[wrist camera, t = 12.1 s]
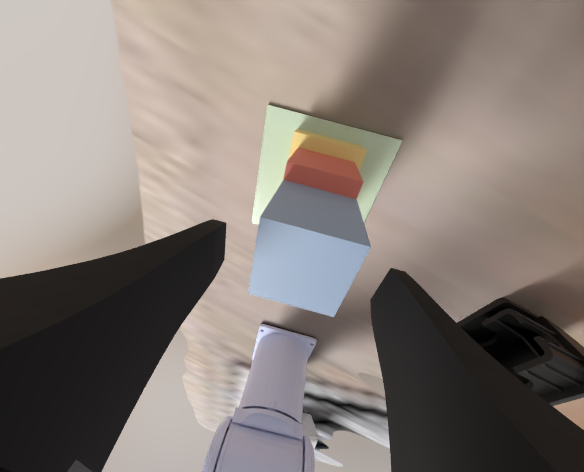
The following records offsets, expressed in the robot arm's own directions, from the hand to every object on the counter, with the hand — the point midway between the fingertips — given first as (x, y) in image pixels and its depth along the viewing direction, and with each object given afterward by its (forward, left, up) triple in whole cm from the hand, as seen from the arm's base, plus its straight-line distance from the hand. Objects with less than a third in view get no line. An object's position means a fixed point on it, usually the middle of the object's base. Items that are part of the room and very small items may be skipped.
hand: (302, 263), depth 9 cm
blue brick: (0, 0, -4) cm, 4 cm away
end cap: (-11, -23, -11) cm, 28 cm away
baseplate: (0, 0, -10) cm, 10 cm away
